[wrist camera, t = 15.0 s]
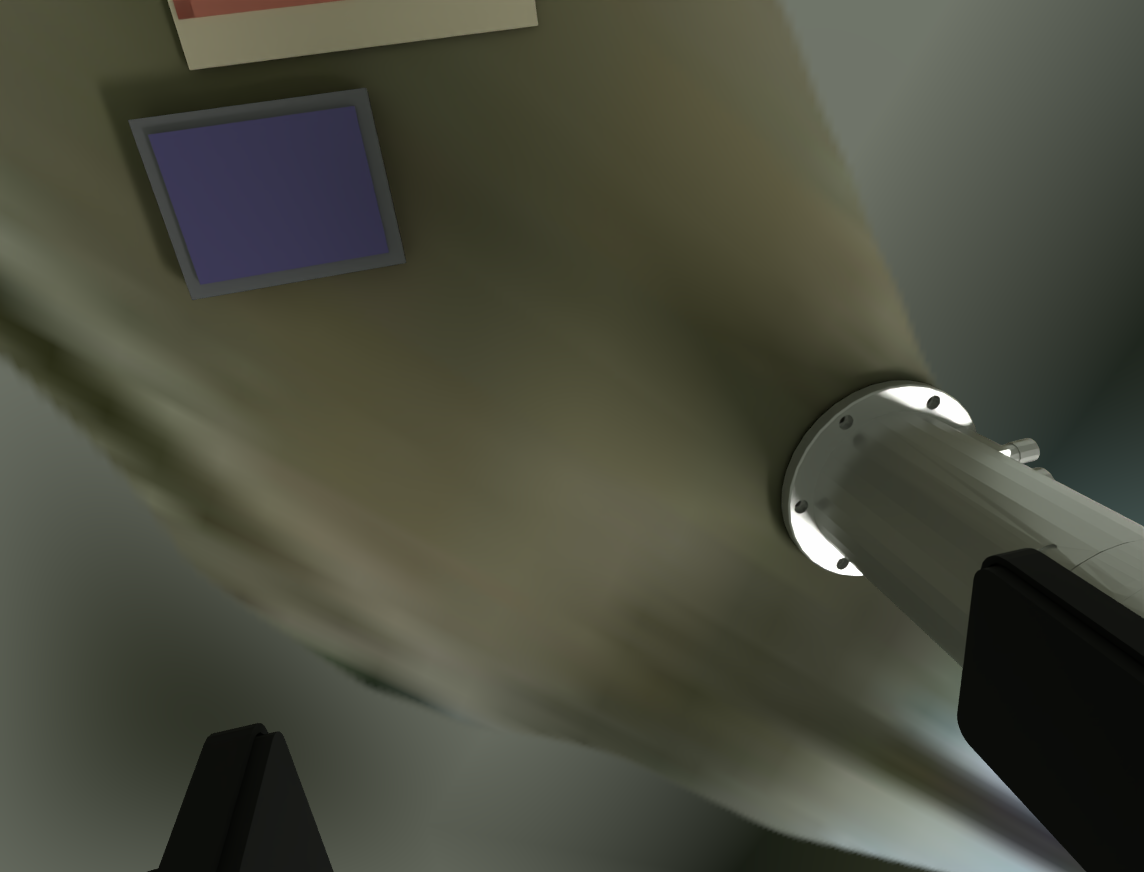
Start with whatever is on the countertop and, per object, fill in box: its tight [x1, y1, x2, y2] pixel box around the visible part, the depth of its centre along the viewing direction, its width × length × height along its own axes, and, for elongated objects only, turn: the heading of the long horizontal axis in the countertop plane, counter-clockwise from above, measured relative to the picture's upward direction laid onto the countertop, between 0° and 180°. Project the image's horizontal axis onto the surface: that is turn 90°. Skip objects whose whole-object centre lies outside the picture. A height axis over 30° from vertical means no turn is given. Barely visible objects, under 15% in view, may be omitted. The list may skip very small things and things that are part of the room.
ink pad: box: [128, 88, 406, 300], centre depth 30 cm, size 9×7×2 cm
